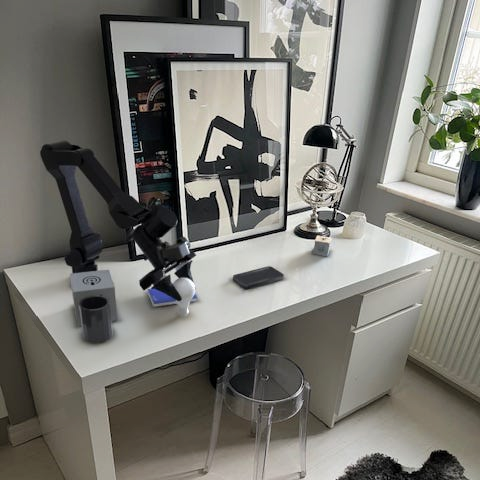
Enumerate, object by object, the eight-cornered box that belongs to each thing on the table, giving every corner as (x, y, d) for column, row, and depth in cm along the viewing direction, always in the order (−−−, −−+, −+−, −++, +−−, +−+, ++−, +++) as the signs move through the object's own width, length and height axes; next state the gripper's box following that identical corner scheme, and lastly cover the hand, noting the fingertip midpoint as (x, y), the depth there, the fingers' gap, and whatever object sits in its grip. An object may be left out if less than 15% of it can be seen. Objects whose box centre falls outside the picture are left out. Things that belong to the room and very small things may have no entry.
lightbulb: (196, 320, 133) (197, 283, 127) (173, 322, 131) (172, 285, 126) (192, 308, 138) (193, 272, 132) (169, 309, 137) (169, 274, 131)
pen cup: (81, 343, 121) (77, 310, 116) (84, 328, 127) (80, 295, 122) (111, 342, 122) (108, 309, 117) (113, 327, 128) (110, 294, 123)
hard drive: (153, 302, 136) (197, 296, 140) (147, 288, 143) (189, 283, 147) (153, 307, 137) (197, 301, 141) (147, 293, 144) (189, 288, 148)
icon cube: (117, 320, 131) (114, 287, 125) (77, 326, 127) (73, 292, 122) (111, 301, 138) (108, 269, 133) (74, 306, 135) (69, 273, 130)
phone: (231, 275, 153) (270, 265, 161) (231, 278, 154) (270, 268, 161) (246, 286, 148) (285, 275, 155) (245, 289, 149) (285, 278, 156)
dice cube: (329, 250, 176) (331, 237, 174) (327, 256, 172) (329, 243, 170) (315, 248, 177) (317, 235, 175) (313, 254, 173) (315, 240, 171)
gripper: (147, 242, 117) (186, 297, 119) (190, 219, 131) (225, 268, 133) (122, 264, 124) (160, 315, 126) (166, 240, 138) (199, 286, 140)
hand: (187, 295), depth 131 cm, fingers closed on lightbulb, 6 cm apart
